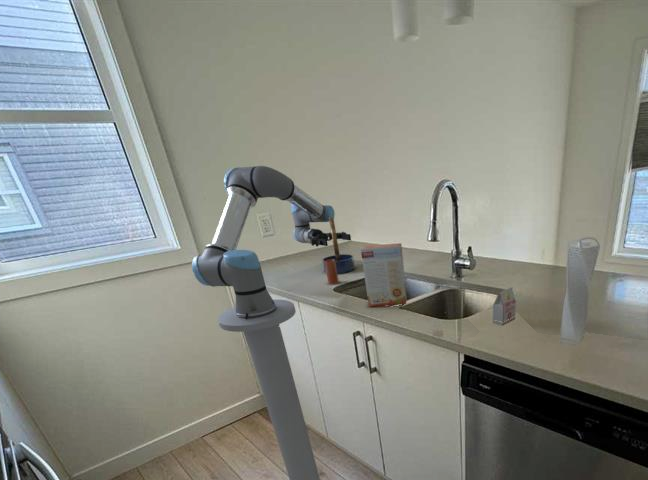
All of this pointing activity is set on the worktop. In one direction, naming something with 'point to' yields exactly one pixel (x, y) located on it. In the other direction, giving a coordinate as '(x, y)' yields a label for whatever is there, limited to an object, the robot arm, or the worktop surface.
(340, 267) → the bowl
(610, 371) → the worktop surface
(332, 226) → the stirring stick
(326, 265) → the orange tall cylinder
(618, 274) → the worktop surface
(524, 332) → the worktop surface
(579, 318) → the skyscraper
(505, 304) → the milk carton
